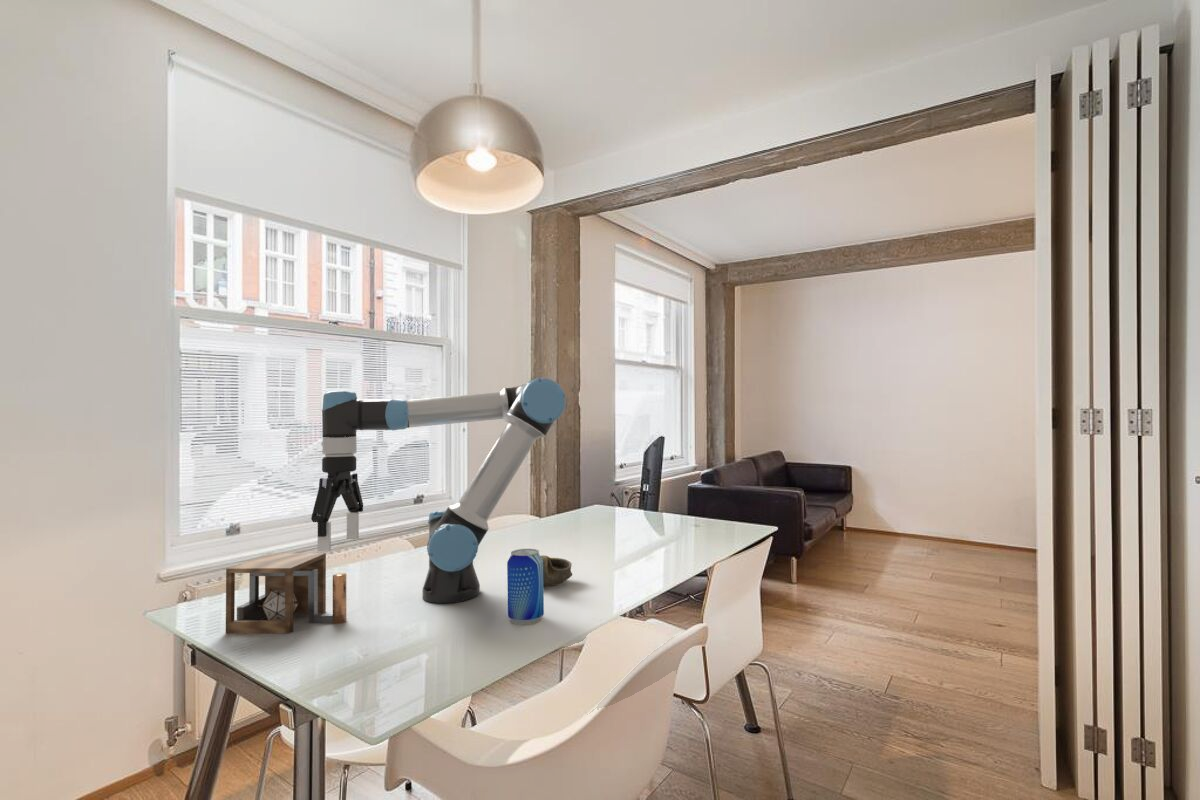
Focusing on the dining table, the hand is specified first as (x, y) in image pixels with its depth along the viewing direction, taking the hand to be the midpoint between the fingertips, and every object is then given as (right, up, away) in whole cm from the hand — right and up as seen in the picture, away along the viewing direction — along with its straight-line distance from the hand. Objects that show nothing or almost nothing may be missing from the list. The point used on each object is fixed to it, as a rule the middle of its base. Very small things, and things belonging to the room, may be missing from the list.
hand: (339, 544), depth 139 cm
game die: (-14, -19, 0) cm, 23 cm away
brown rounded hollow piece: (+47, -19, +27) cm, 58 cm away
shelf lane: (-15, -18, 0) cm, 23 cm away
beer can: (+45, -18, -2) cm, 48 cm away
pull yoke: (-10, -18, 0) cm, 21 cm away
